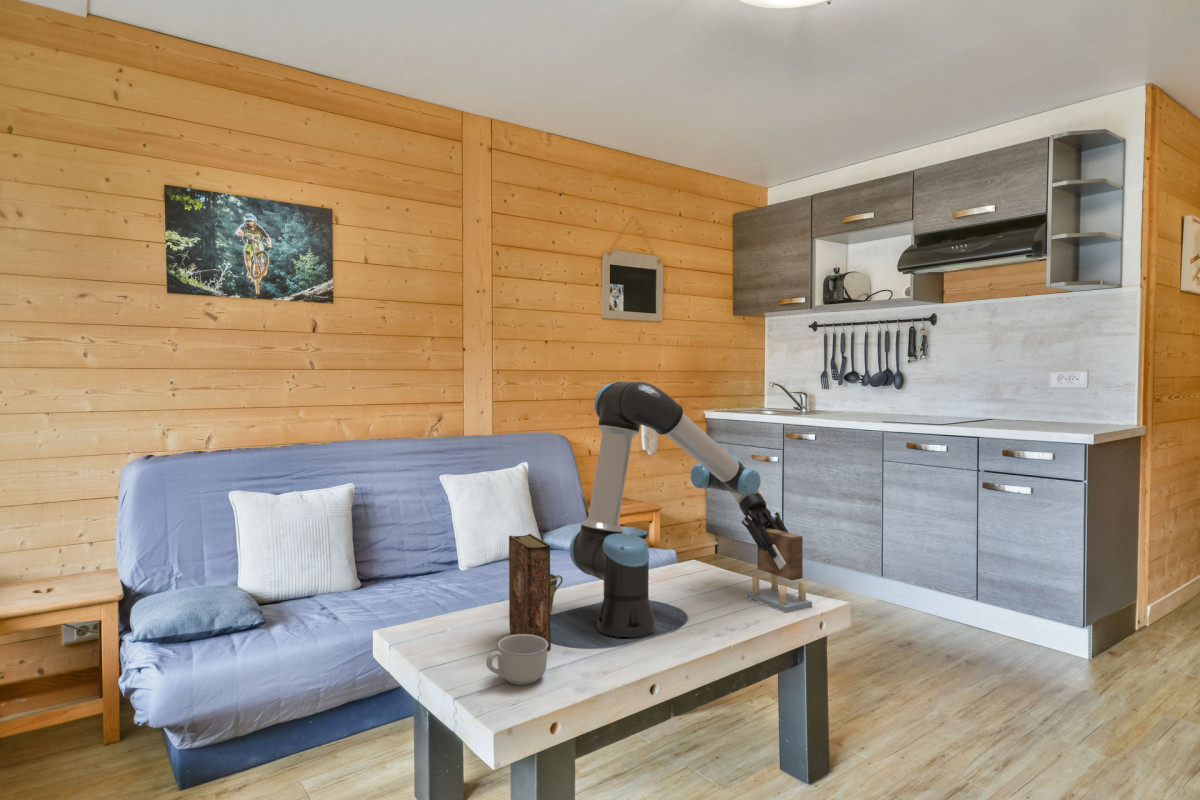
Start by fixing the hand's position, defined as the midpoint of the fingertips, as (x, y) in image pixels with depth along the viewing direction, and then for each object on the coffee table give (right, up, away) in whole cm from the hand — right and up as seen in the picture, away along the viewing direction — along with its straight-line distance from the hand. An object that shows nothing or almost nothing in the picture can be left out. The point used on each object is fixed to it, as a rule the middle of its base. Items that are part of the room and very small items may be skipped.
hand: (789, 565), depth 197 cm
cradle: (-2, -11, +3) cm, 12 cm away
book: (-71, -13, -27) cm, 77 cm away
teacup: (-72, -13, -50) cm, 88 cm away
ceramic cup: (-70, -12, -5) cm, 71 cm away
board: (-2, -3, +3) cm, 5 cm away
